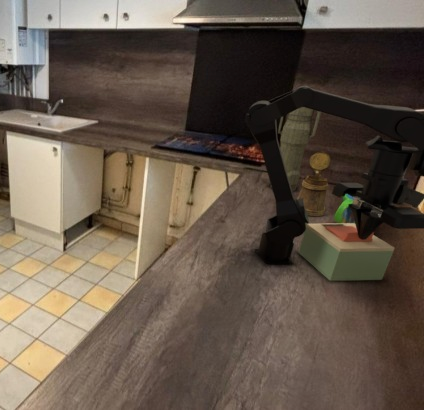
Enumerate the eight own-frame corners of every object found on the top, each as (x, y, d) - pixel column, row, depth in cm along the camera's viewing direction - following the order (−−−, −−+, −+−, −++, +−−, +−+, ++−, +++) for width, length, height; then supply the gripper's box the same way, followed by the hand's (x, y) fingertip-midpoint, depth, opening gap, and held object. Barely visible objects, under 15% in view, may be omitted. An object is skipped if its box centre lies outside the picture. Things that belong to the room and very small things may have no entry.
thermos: (299, 194, 129) (326, 94, 116) (264, 188, 135) (285, 91, 121) (301, 187, 136) (326, 91, 122) (267, 181, 142) (288, 89, 128)
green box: (329, 280, 81) (339, 251, 78) (298, 252, 92) (305, 226, 89) (382, 279, 81) (393, 251, 78) (344, 252, 92) (353, 225, 89)
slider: (343, 241, 80) (346, 232, 79) (325, 228, 86) (327, 220, 85) (372, 241, 81) (375, 232, 80) (351, 228, 86) (354, 220, 86)
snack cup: (344, 240, 98) (355, 206, 94) (317, 223, 108) (327, 192, 104) (396, 237, 100) (409, 204, 96) (365, 221, 109) (376, 190, 105)
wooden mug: (323, 204, 122) (339, 152, 114) (324, 218, 111) (341, 162, 104) (294, 198, 126) (307, 148, 119) (292, 212, 115) (306, 158, 108)
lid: (339, 251, 78) (340, 248, 78) (305, 226, 89) (306, 223, 89) (393, 251, 78) (395, 247, 78) (353, 225, 89) (354, 223, 89)
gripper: (471, 187, 65) (436, 261, 71) (388, 159, 82) (366, 220, 88) (411, 188, 64) (382, 261, 71) (340, 159, 81) (321, 220, 88)
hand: (362, 238), depth 79 cm, fingers closed
